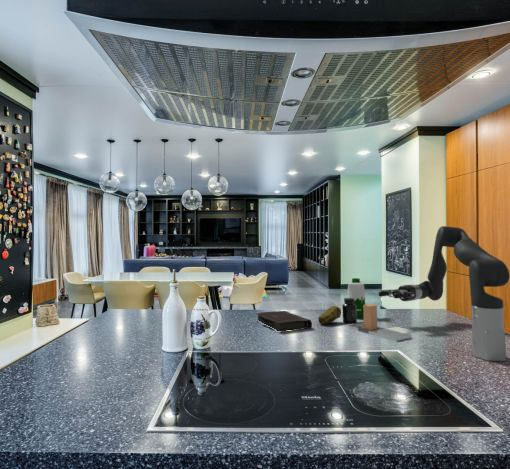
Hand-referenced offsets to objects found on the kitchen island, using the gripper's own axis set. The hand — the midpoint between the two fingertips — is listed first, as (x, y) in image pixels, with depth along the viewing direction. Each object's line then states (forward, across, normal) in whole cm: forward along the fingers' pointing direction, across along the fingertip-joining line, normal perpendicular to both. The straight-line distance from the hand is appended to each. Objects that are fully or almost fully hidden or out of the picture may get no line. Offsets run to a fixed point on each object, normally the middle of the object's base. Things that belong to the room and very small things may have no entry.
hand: (386, 295), depth 161 cm
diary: (+35, -34, +16) cm, 51 cm away
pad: (0, +5, +16) cm, 17 cm away
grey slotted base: (+10, +3, +16) cm, 19 cm away
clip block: (+10, -1, +16) cm, 19 cm away
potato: (+13, -24, +16) cm, 31 cm away
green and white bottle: (-9, -27, +15) cm, 32 cm away
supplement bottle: (+4, -19, +15) cm, 25 cm away
